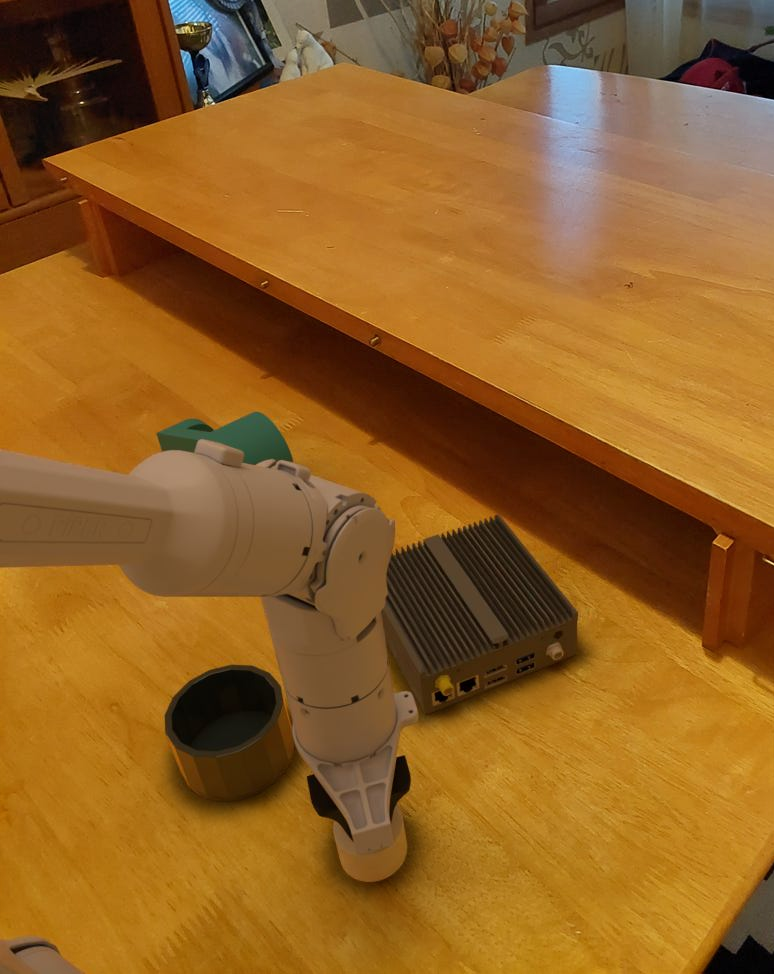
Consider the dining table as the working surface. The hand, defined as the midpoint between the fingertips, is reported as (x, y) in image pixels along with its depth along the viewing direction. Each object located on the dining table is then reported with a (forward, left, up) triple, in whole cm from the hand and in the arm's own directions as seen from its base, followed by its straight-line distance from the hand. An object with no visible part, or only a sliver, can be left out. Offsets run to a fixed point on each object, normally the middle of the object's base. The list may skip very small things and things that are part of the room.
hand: (366, 815), depth 58 cm
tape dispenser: (+28, +36, -4) cm, 46 cm away
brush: (0, 0, -4) cm, 4 cm away
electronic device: (+20, +4, -4) cm, 21 cm away
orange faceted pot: (+2, +13, -4) cm, 14 cm away
